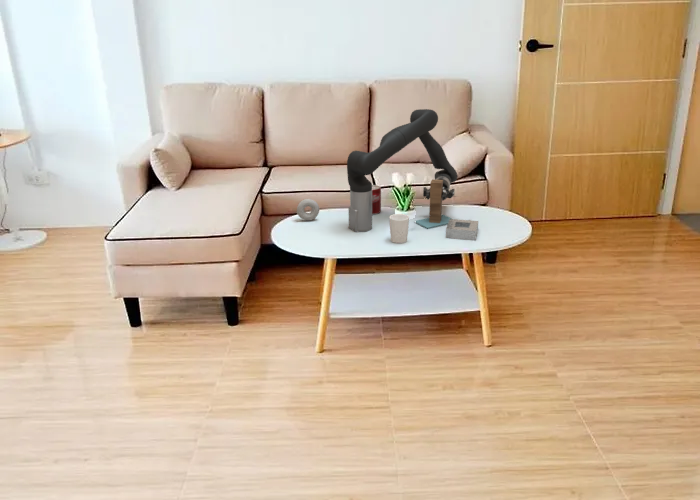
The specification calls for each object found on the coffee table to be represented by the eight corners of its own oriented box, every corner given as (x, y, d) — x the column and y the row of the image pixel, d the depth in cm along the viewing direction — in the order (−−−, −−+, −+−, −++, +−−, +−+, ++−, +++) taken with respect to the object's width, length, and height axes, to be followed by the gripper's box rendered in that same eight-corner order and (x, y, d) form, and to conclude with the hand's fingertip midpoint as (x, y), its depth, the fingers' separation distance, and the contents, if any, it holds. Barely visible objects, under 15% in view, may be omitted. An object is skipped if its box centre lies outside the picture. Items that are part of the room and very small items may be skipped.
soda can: (379, 215, 283) (379, 189, 278) (363, 214, 284) (363, 189, 280) (382, 210, 289) (382, 185, 285) (366, 209, 291) (366, 184, 286)
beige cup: (386, 242, 253) (386, 219, 249) (392, 235, 259) (393, 212, 255) (405, 244, 250) (405, 221, 246) (411, 238, 256) (411, 215, 253)
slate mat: (427, 229, 265) (427, 227, 265) (413, 222, 273) (413, 221, 273) (457, 222, 272) (457, 220, 272) (443, 215, 281) (443, 214, 280)
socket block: (475, 240, 253) (475, 231, 251) (445, 237, 256) (446, 228, 254) (477, 229, 263) (478, 221, 262) (449, 227, 266) (449, 218, 265)
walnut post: (439, 223, 270) (441, 183, 263) (429, 222, 271) (430, 182, 264) (441, 219, 274) (442, 180, 267) (430, 218, 275) (432, 179, 268)
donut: (319, 218, 280) (318, 197, 277) (320, 220, 277) (319, 199, 273) (297, 219, 279) (295, 198, 275) (297, 222, 276) (296, 200, 272)
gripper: (425, 177, 281) (419, 188, 266) (457, 179, 278) (452, 190, 263) (424, 193, 284) (418, 205, 269) (456, 195, 281) (452, 207, 266)
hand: (435, 197), depth 266 cm, fingers open, 6 cm apart
